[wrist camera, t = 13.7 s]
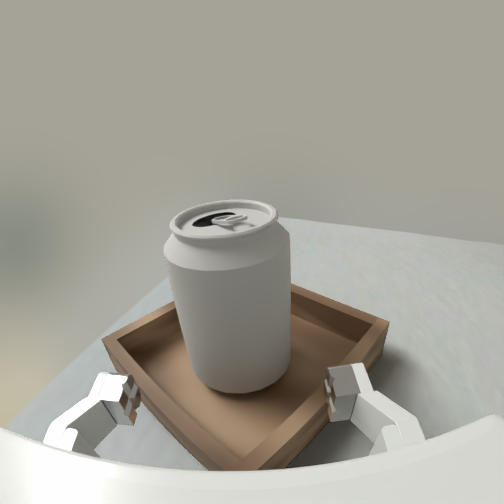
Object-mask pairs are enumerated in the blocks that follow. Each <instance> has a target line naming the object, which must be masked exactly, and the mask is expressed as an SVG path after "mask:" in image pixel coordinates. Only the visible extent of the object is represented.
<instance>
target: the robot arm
mask: <svg viewBox="0 0 504 504" xmlns="http://www.w3.org/2000/svg"><path fill="white" fill-rule="evenodd" d="M325 374H326V378H327V379H326V380H325V381H324V395H325V401H326V402H327V403H328V404H329V405H328V414H329V418H330V422H335V421H342V420H349V419H350V421H351V422H352V423H353V424H354V425H355V426H356V427H358V428H359V429H360V430H361V431H362V432H363V433H364V434H365V435H366V436H367V437H368V438H369V439H370V440H371V441H372V442H373V443H374V446H373V447H372V449H371V451H370V453H369V455H368V456H365V457H361V458H356V459H351V460H345V461H340V462H334V463H328V464H321V465H314V466H306V467H297V468H287V469H275V470H257V471H201V470H183V469H171V468H161V467H152V466H144V465H137V464H131V463H124V462H119V461H113V460H108V459H103V458H100V456H99V455H98V454H97V453H96V452H95V451H94V448H95V447H96V446H97V445H98V444H99V443H100V442H101V441H102V440H103V439H104V438H105V437H106V436H107V435H108V434H109V433H110V432H111V431H112V430H113V429H114V428H115V427H116V426H117V424H121V425H131V426H134V423H135V420H136V416H137V413H136V411H135V410H136V409H137V408H138V407H139V406H140V402H141V393H140V390H139V387H138V386H137V385H135V384H134V381H135V379H134V377H133V375H130V374H120V373H109V372H100V373H99V374H98V376H97V379H96V381H95V383H94V385H93V388H92V390H91V392H90V394H89V397H88V398H84V399H83V400H82V401H80V402H79V403H78V404H76V405H75V406H73V407H72V408H71V409H69V410H68V411H67V412H65V413H64V414H63V415H61V416H60V417H59V418H57V419H56V420H54V421H53V422H52V423H51V425H50V427H49V429H48V432H47V434H46V436H45V439H44V441H43V443H42V442H39V441H36V440H33V439H30V438H28V437H25V436H22V435H19V434H17V433H14V432H12V431H9V430H7V429H4V428H2V427H0V504H504V417H502V416H499V415H497V414H491V415H488V416H486V417H483V418H481V419H479V420H477V421H474V422H472V423H470V424H467V425H465V426H463V427H460V428H458V429H455V430H452V431H450V432H447V433H444V434H442V435H439V436H436V437H433V438H430V439H427V440H426V439H425V437H424V435H423V432H422V430H421V427H420V425H419V422H418V420H417V418H416V417H415V416H414V415H412V414H411V413H409V412H408V411H406V410H405V409H403V408H402V407H400V406H399V405H397V404H396V403H394V402H393V401H392V400H390V399H389V398H387V397H386V396H384V395H383V394H381V393H380V392H379V391H374V390H373V387H372V385H371V382H370V380H369V377H368V374H367V372H366V369H365V367H364V364H363V363H355V364H348V365H341V366H335V367H328V368H327V369H326V373H325Z"/></svg>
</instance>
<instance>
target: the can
mask: <svg viewBox="0 0 504 504" xmlns="http://www.w3.org/2000/svg"><path fill="white" fill-rule="evenodd" d="M277 219H278V211H277V210H276V209H275V208H274V207H273V206H271V205H269V204H266V203H263V202H258V201H253V200H223V201H217V202H209V203H206V204H201V205H197V206H194V207H192V208H189V209H186V210H184V211H182V212H181V213H179V214H177V215H176V216H175V217H174V218H173V220H172V221H171V222H170V230H171V231H172V232H173V233H172V235H171V236H170V238H169V239H168V241H167V242H166V244H165V245H164V258H165V263H166V268H167V272H168V277H169V281H170V285H171V290H172V294H173V298H174V302H175V306H176V310H177V314H178V318H179V322H180V326H181V330H182V334H183V337H184V341H185V345H186V348H187V352H188V355H189V359H190V362H191V366H192V369H193V371H194V373H195V374H196V376H197V377H198V379H199V380H200V381H201V382H203V383H204V384H206V385H207V386H208V387H210V388H212V389H215V390H218V391H222V392H225V393H248V392H253V391H257V390H261V389H263V388H265V387H267V386H269V385H271V384H273V383H274V382H276V381H277V380H278V379H279V378H280V377H281V376H282V375H283V374H284V373H285V372H286V370H287V367H288V365H289V363H290V361H291V275H290V237H289V233H288V232H287V231H286V230H285V229H284V227H283V226H281V225H280V224H279V223H278V222H277V221H276V220H277Z"/></svg>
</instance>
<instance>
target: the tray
mask: <svg viewBox="0 0 504 504" xmlns="http://www.w3.org/2000/svg"><path fill="white" fill-rule="evenodd" d="M388 327H389V321H386V320H384V319H381V318H378V317H376V316H373V315H371V314H368V313H365V312H363V311H360V310H358V309H355V308H352V307H350V306H347V305H345V304H342V303H340V302H337V301H334V300H332V299H329V298H327V297H324V296H322V295H319V294H317V293H314V292H311V291H309V290H306V289H304V288H301V287H299V286H296V285H294V284H291V361H290V363H289V365H288V367H287V370H286V372H285V373H284V374H283V375H282V376H281V377H280V378H279V379H278V380H277V381H276V382H274V383H273V384H271V385H269V386H267V387H265V388H263V389H261V390H257V391H253V392H248V393H225V392H222V391H218V390H215V389H212V388H210V387H208V386H207V385H206V384H204V383H203V382H201V381H200V380H199V379H198V377H197V376H196V374H195V373H194V371H193V369H192V366H191V362H190V359H189V355H188V352H187V348H186V345H185V341H184V337H183V334H182V330H181V326H180V322H179V318H178V314H177V310H176V306H175V302H174V301H173V302H171V303H169V304H167V305H165V306H163V307H161V308H159V309H157V310H156V311H154V312H152V313H150V314H148V315H146V316H144V317H142V318H140V319H139V320H137V321H135V322H133V323H131V324H129V325H127V326H125V327H123V328H121V329H120V330H118V331H116V332H114V333H112V334H110V335H108V336H106V337H104V338H102V341H103V343H104V346H105V348H106V350H107V352H108V354H109V356H110V359H111V361H112V363H113V365H114V367H115V369H116V370H117V371H118V373H120V374H130V375H133V377H134V379H135V381H134V384H135V385H137V386H138V387H139V390H140V393H141V401H142V402H143V404H144V405H145V406H146V407H147V408H148V409H149V410H150V412H151V413H152V414H153V415H154V416H155V417H156V418H157V419H158V421H159V422H160V423H161V424H162V425H163V426H164V427H165V428H166V429H167V430H168V431H169V432H170V433H171V434H172V435H173V436H174V438H175V439H176V440H177V441H178V442H179V443H180V444H181V445H182V446H183V447H184V448H185V449H186V450H187V451H188V452H189V453H190V454H192V455H193V456H194V457H195V458H196V459H197V460H198V461H199V462H200V463H201V464H202V465H203V466H204V467H205V468H206V469H208V470H209V471H257V470H275V469H284V468H285V467H286V466H287V465H288V464H289V463H290V462H291V461H292V460H293V459H294V458H295V457H296V456H297V455H298V454H299V453H300V452H301V451H302V450H303V449H304V448H305V447H306V446H307V445H308V444H309V443H310V442H311V441H312V439H313V438H314V437H315V436H316V435H317V434H318V433H319V432H320V431H321V430H322V428H323V427H324V426H325V425H326V424H327V423H328V422H329V421H330V418H329V414H328V405H329V404H328V403H327V402H326V401H325V395H324V381H325V380H326V379H327V378H326V374H325V373H326V369H327V368H328V367H335V366H341V365H348V364H355V363H363V364H364V367H365V369H366V372H367V374H368V372H369V371H370V369H371V368H372V367H373V365H374V364H375V363H376V361H377V360H378V358H379V357H380V356H381V354H382V351H383V347H384V343H385V339H386V335H387V331H388Z"/></svg>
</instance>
